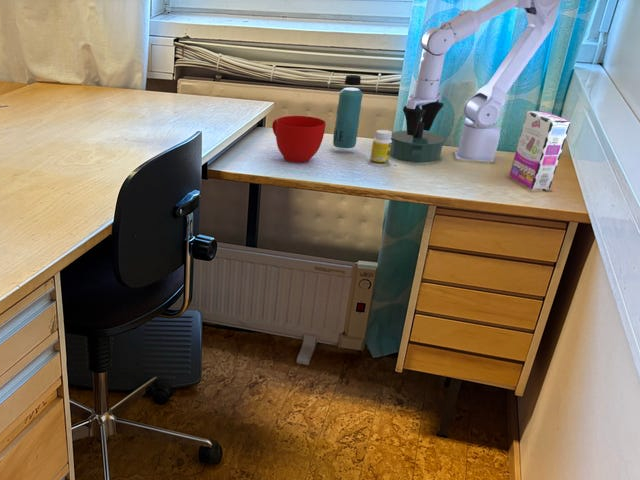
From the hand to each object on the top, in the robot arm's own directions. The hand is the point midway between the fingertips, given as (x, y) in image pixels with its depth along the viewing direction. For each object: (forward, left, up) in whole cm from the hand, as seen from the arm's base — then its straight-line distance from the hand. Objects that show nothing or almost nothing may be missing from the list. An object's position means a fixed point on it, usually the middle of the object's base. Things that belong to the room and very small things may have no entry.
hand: (418, 132), depth 189 cm
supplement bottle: (+9, +9, -7) cm, 15 cm away
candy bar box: (-27, +16, -7) cm, 32 cm away
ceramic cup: (+32, +10, -7) cm, 34 cm away
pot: (0, 0, -7) cm, 7 cm away
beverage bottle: (+19, -1, -7) cm, 20 cm away
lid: (0, 0, -2) cm, 2 cm away
